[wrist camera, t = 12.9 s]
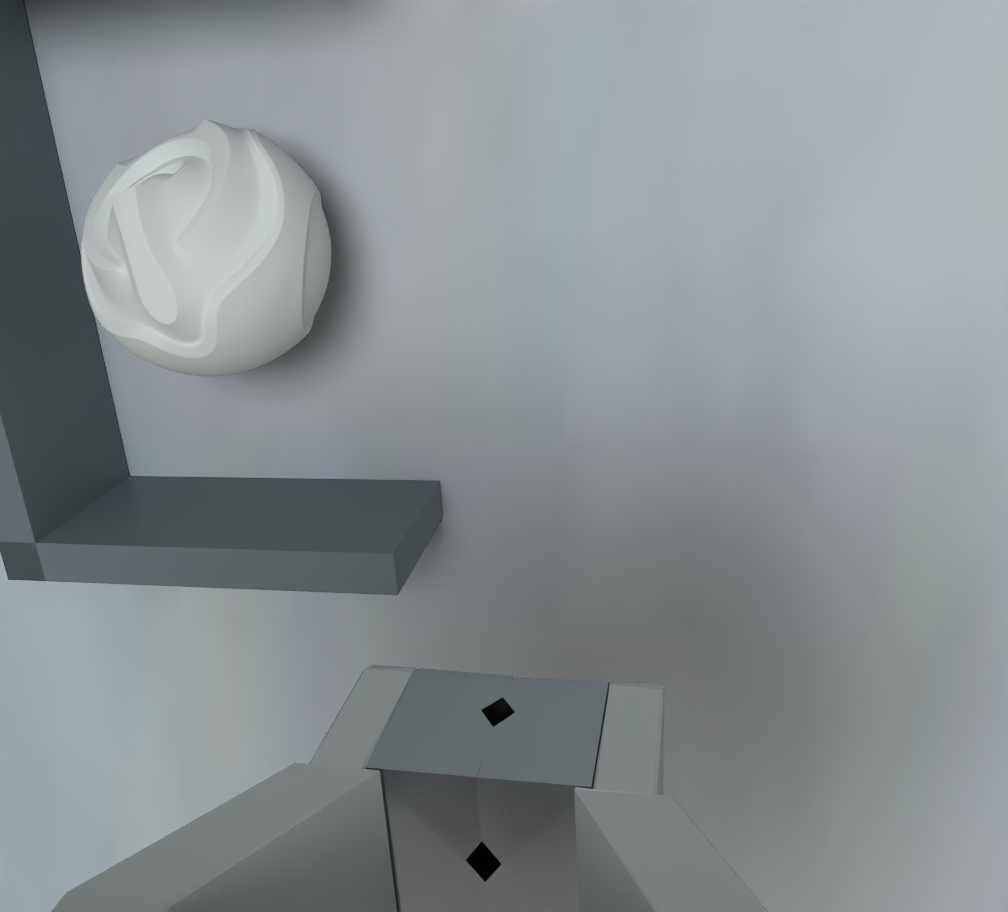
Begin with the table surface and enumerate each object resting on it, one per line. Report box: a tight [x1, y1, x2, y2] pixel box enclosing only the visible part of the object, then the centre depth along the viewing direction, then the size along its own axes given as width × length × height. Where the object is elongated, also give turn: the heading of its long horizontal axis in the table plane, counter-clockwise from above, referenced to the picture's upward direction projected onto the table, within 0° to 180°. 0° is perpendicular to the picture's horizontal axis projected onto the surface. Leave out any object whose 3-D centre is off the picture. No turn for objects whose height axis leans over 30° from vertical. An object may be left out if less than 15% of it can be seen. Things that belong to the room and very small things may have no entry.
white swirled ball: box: [81, 119, 331, 376], centre depth 30 cm, size 8×8×8 cm
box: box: [0, 0, 443, 595], centre depth 31 cm, size 14×21×6 cm
